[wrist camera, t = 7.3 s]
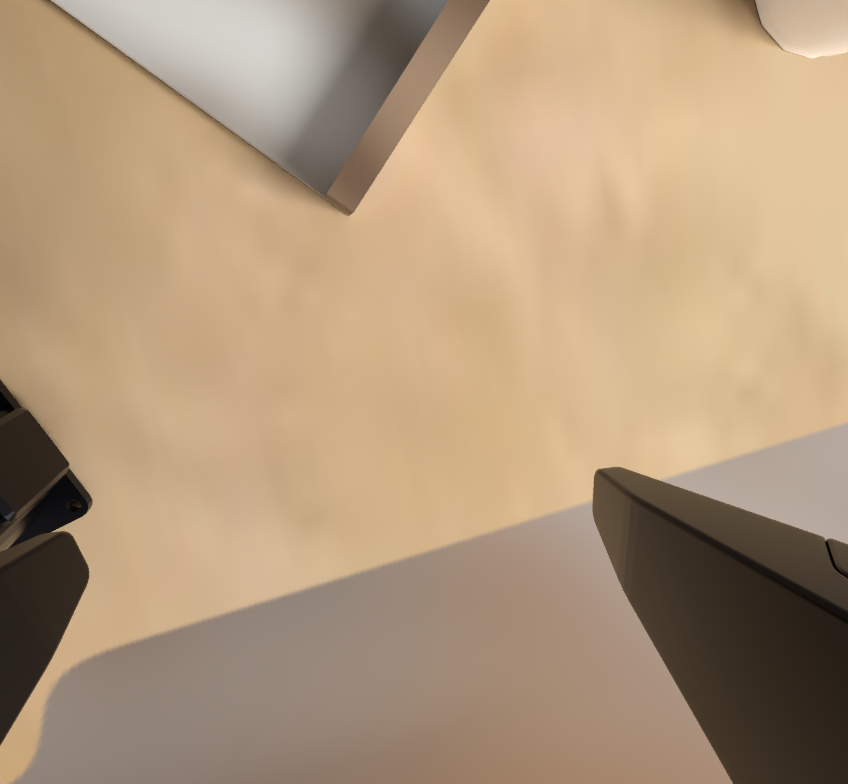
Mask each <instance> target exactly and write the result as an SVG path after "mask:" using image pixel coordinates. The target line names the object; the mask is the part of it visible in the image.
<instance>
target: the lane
mask: <svg viewBox="0 0 848 784" xmlns="http://www.w3.org/2000/svg"><path fill="white" fill-rule="evenodd" d="M50 1H51V2H53V3H54V4H56V5H57V6H58V7H60V8H61V9H63V10H64V11H65V12H67V13H68V14H69V15H71V16H72V17H74V18H75V19H76V20H78V21H79V22H81V23H82V24H83V25H85V26H86V27H87V28H89V29H90V30H92V31H93V32H94V33H96V34H97V35H99V36H100V37H101V38H103V39H104V40H105V41H107V42H108V43H110V44H111V45H112V46H114V47H115V48H117V49H118V50H119V51H121V52H122V53H124V54H125V55H126V56H128V57H129V58H130V59H132V60H133V61H135V62H136V63H137V64H139V65H140V66H142V67H143V68H144V69H146V70H147V71H148V72H150V73H151V74H153V75H154V76H155V77H157V78H158V79H160V80H161V81H162V82H164V83H165V84H166V85H168V86H169V87H171V88H172V89H173V90H175V91H176V92H178V93H179V94H180V95H182V96H183V97H185V98H186V99H187V100H189V101H190V102H191V103H193V104H194V105H196V106H197V107H198V108H200V109H201V110H203V111H204V112H205V113H207V114H208V115H209V116H211V117H212V118H214V119H215V120H216V121H218V122H219V123H221V124H222V125H223V126H225V127H226V128H227V129H229V130H230V131H232V132H233V133H234V134H236V135H237V136H239V137H240V138H241V139H243V140H244V141H245V142H247V143H248V144H250V145H251V146H252V147H254V148H255V149H257V150H258V151H259V152H261V153H262V154H264V155H265V156H266V157H268V158H269V159H270V160H272V161H273V162H275V163H276V164H277V165H279V166H280V167H282V168H283V169H284V170H286V171H287V172H288V173H290V174H291V175H293V176H294V177H295V178H297V179H298V180H300V181H301V182H302V183H304V184H305V185H306V186H308V187H309V188H311V189H312V190H313V191H315V192H316V193H318V194H319V195H320V196H322V197H323V198H325V199H326V200H327V201H329V202H330V203H331V204H333V205H334V206H336V207H337V208H338V209H340V210H341V211H343V212H344V213H345V214H347V215H348V216H349V215H351V214H352V213H353V212H354V211H355V209H356V208H357V206H358V205H359V203H360V202H361V200H362V199H363V197H364V195H365V194H366V192H367V191H368V189H369V188H370V186H371V185H372V183H373V181H374V180H375V178H376V177H377V175H378V174H379V172H380V171H381V169H382V167H383V166H384V164H385V163H386V161H387V160H388V158H389V157H390V155H391V153H392V152H393V150H394V149H395V147H396V146H397V144H398V143H399V141H400V139H401V138H402V136H403V135H404V133H405V132H406V130H407V128H408V127H409V125H410V124H411V122H412V121H413V119H414V118H415V116H416V114H417V113H418V111H419V110H420V108H421V107H422V105H423V104H424V102H425V100H426V99H427V97H428V96H429V94H430V93H431V91H432V90H433V88H434V86H435V85H436V83H437V82H438V80H439V79H440V77H441V76H442V74H443V72H444V71H445V69H446V68H447V66H448V65H449V63H450V62H451V60H452V58H453V57H454V55H455V54H456V52H457V51H458V49H459V48H460V46H461V44H462V43H463V41H464V40H465V38H466V37H467V35H468V34H469V32H470V30H471V29H472V27H473V26H474V24H475V23H476V21H477V19H478V18H479V16H480V15H481V13H482V12H483V10H484V9H485V7H486V5H487V4H488V2H489V1H490V0H50Z"/></svg>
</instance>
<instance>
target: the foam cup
mask: <svg viewBox="0 0 848 784" xmlns="http://www.w3.org/2000/svg"><path fill="white" fill-rule="evenodd" d="M755 2H756V6H757V9H758V13H759V17H760V20H761V24H762V26H763V27H764V28H765V29H766V31H767V32H768V33H769V34H770V35H771V36H772V37H773V39H774V40H775V41H776V42H777V43H778V44H779V46H780V47H781V48H782V49H783V50H785V51H788V52H791V53H795V54H798V55H802V56H805V57H808V58H812V59H813V58H816V57H819V56H830V55H835V54H841V53H846V52H848V0H755Z"/></svg>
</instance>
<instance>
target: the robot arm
mask: <svg viewBox="0 0 848 784" xmlns="http://www.w3.org/2000/svg"><path fill="white" fill-rule="evenodd" d="M72 500H75V501H78V502H79V503H80V504H81V506H82V507H75V506H73V505H72V503H71V501H72ZM91 506H92V498H91V496H90V495H89V493H88V492H87V491H86V490H85V488H84V487H83V486H82V484H81V483H80V482H79V481H78V479H77V478H76V477H75V475H74V474H73V473H72V472H71V470H70V469H69V462H68V461H67V460H66V458H65V457H64V456H63V455H62V453H61V452H60V451H59V449H58V448H57V447H56V445H55V444H54V443H53V442H52V440H51V439H50V438H49V436H48V435H47V434H46V433H45V431H44V430H43V429H42V427H41V426H40V425H39V423H38V422H37V421H36V420H35V418H34V417H33V416H32V414H31V413H30V412H29V411H27V410H24V409H23V408H22V407H21V406H20V405H19V403H18V402H17V401H16V399H15V398H14V397H13V395H12V394H11V393H10V392H9V390H8V389H7V388H6V386H5V385H4V384H3V383H2V381H1V380H0V745H1V744H2V742H3V740H4V739H5V737H6V735H7V734H8V732H9V730H10V729H11V727H12V725H13V724H14V722H15V720H16V719H17V717H18V715H19V714H20V712H21V710H22V708H23V707H24V705H25V703H26V702H27V700H28V698H29V697H30V695H31V693H32V692H33V690H34V688H35V687H36V685H37V683H38V682H39V680H40V678H41V677H42V675H43V673H44V672H45V670H46V668H47V666H48V664H49V663H50V661H51V659H52V657H53V655H54V653H55V651H56V649H57V647H58V645H59V643H60V641H61V639H62V637H63V635H64V633H65V630H66V628H67V626H68V624H69V622H70V620H71V618H72V616H73V613H74V611H75V609H76V607H77V605H78V603H79V601H80V599H81V596H82V594H83V592H84V590H85V588H86V586H87V583H88V579H89V568H88V565H87V563H86V561H85V559H84V557H83V555H82V553H81V551H80V549H79V547H78V545H77V543H76V541H75V539H74V537H73V536H72V535H71V534H70V533H68V532H66V531H61V532H52V531H54V530H56V529H58V528H60V527H62V526H64V525H66V524H68V523H70V522H72V521H74V520H76V519H78V518H80V517H82V516H83V515H85V514H86V513H87V512H88V511H89V509H90V508H91ZM593 516H594V521H595V523H596V526H597V528H598V531H599V533H600V536H601V538H602V541H603V543H604V545H605V548H606V550H607V553H608V555H609V558H610V560H611V563H612V565H613V567H614V570H615V572H616V574H617V577H618V579H619V582H620V584H621V586H622V588H623V591H624V592H625V594H626V596H627V598H628V600H629V602H630V604H631V605H632V607H633V609H634V611H635V612H636V614H637V616H638V617H639V619H640V621H641V623H642V624H643V626H644V628H645V630H646V632H647V633H648V635H649V637H650V639H651V640H652V642H653V644H654V646H655V647H656V649H657V651H658V653H659V654H660V656H661V658H662V660H663V661H664V663H665V665H666V666H667V668H668V670H669V672H670V674H671V676H672V677H673V679H674V681H675V683H676V684H677V686H678V688H679V690H680V691H681V693H682V695H683V696H684V698H685V700H686V702H687V704H688V705H689V707H690V709H691V710H692V712H693V714H694V716H695V718H696V719H697V721H698V723H699V725H700V726H701V728H702V730H703V732H704V733H705V735H706V737H707V738H708V740H709V742H710V744H711V746H712V747H713V749H714V751H715V753H716V754H717V756H718V758H719V760H720V761H721V763H722V765H723V767H724V768H725V770H726V772H727V774H728V775H729V777H730V779H731V781H732V782H733V784H848V544H845V543H842V542H840V541H837V540H834V539H827V540H825V538H824V537H822V536H819V535H816V534H813V533H810V532H808V531H804V530H802V529H799V528H796V527H793V526H790V525H787V524H784V523H781V522H778V521H776V520H772V519H770V518H767V517H764V516H761V515H758V514H755V513H752V512H749V511H746V510H743V509H740V508H738V507H735V506H732V505H729V504H726V503H723V502H720V501H717V500H714V499H711V498H709V497H706V496H703V495H700V494H697V493H694V492H691V491H688V490H685V489H682V488H679V487H676V486H673V485H671V484H668V483H665V482H662V481H659V480H656V479H653V478H650V477H647V476H645V475H642V474H639V473H636V472H633V471H630V470H627V469H624V468H621V467H611V468H603V469H598V470H597V471H596V472H595V475H594V489H593ZM50 532H52V533H50Z"/></svg>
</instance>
